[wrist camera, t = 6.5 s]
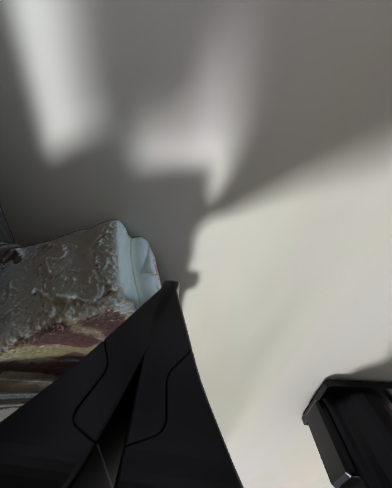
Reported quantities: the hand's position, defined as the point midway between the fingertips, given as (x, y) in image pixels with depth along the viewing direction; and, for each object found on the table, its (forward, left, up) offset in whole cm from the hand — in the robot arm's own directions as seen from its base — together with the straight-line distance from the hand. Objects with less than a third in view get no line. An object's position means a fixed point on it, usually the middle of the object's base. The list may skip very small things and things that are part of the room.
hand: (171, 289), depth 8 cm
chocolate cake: (+3, +3, -3) cm, 6 cm away
